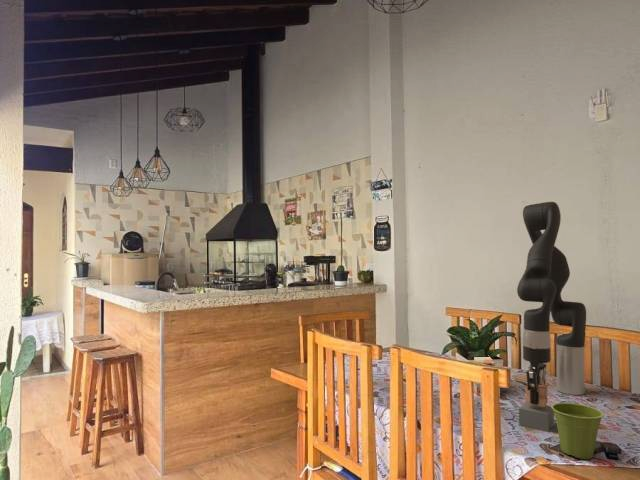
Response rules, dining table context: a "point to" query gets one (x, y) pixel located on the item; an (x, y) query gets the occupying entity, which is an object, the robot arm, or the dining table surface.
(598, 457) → the dining table surface
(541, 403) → the terracotta cube
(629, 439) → the dining table surface
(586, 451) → the plant pot
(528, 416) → the grey base block
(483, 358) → the stack of blocks
